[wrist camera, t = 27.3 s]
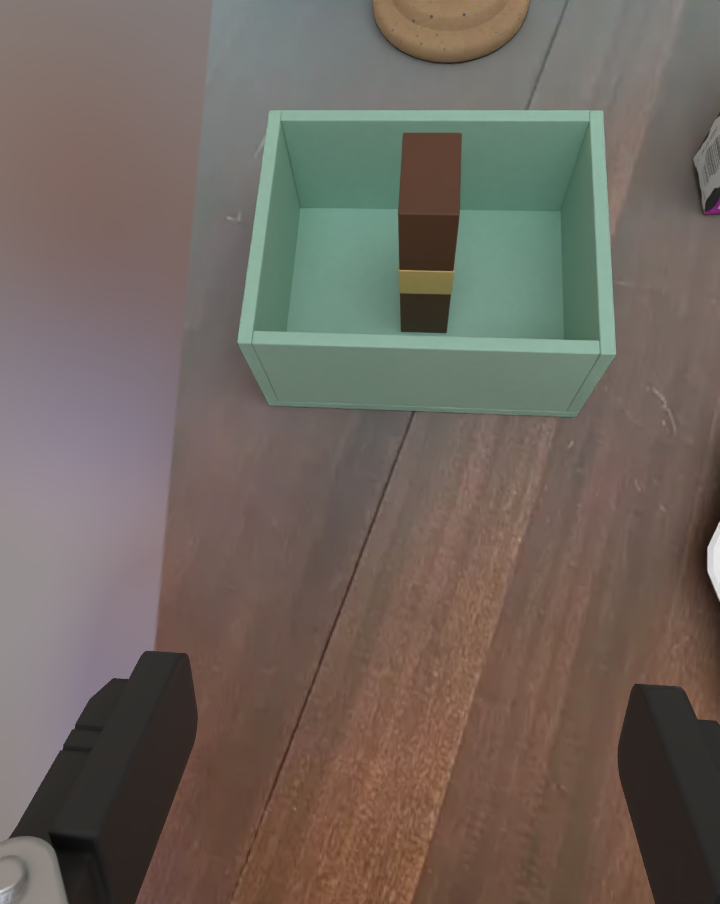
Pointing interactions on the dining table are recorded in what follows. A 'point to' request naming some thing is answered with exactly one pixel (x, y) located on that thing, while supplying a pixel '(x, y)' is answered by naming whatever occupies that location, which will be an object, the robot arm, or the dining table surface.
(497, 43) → the candle holder
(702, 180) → the candy bar box
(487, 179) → the bin
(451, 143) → the chocolate bar
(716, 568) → the plate
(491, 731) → the dining table surface
